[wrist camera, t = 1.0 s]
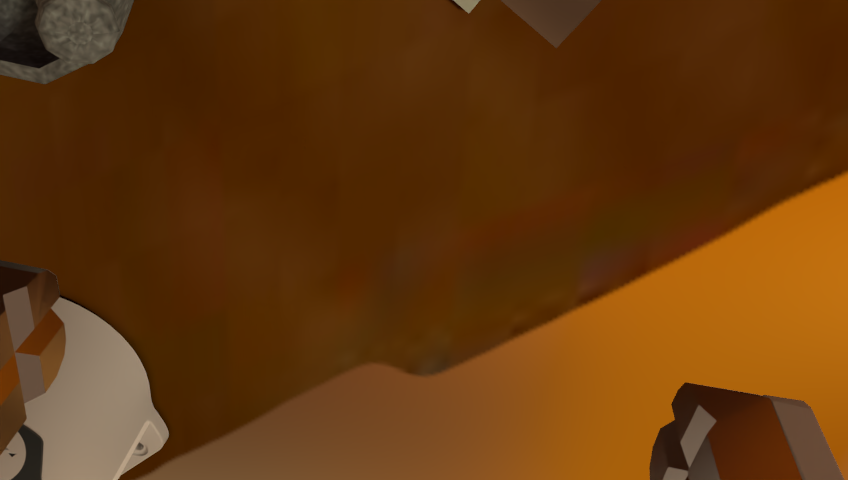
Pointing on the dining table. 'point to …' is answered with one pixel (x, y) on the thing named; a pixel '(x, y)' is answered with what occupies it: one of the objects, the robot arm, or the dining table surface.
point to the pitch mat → (467, 4)
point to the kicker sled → (552, 16)
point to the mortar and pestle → (57, 35)
